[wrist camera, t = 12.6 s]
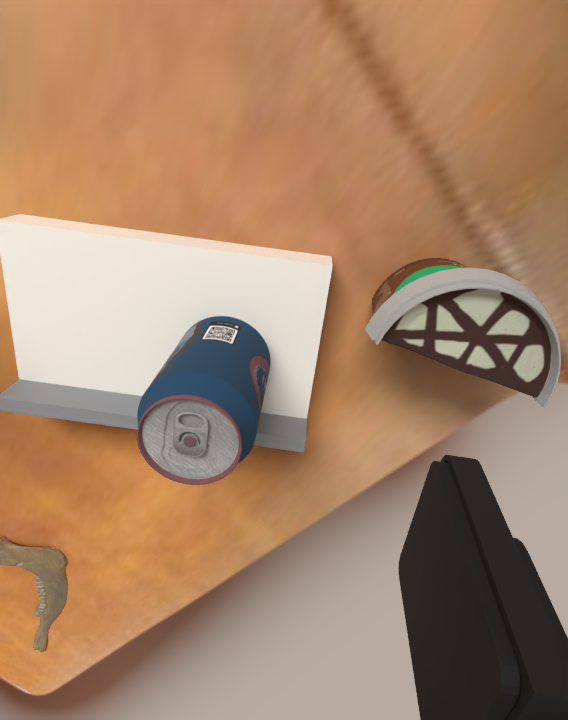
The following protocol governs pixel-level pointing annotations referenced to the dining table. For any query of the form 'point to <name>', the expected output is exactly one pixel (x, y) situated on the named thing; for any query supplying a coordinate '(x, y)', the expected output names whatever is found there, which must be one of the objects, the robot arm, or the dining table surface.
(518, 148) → the dining table surface
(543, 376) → the food container
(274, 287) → the display shelf
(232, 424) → the soda can
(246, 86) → the dining table surface
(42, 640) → the jawbone
